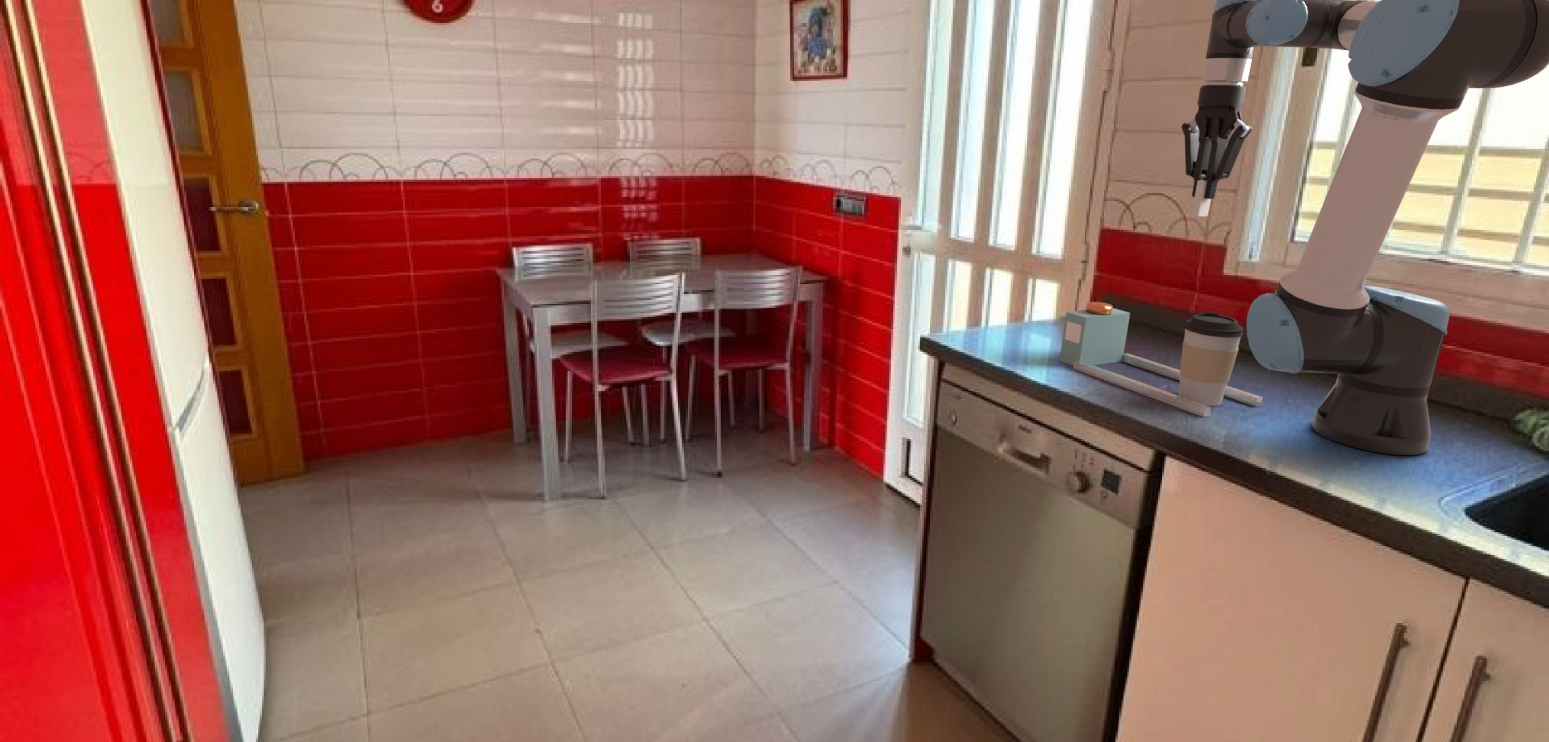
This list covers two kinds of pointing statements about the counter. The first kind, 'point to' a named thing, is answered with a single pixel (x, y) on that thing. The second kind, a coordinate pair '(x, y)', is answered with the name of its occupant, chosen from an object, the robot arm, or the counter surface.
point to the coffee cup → (1208, 357)
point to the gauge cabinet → (1094, 337)
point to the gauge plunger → (1099, 308)
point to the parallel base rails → (1158, 393)
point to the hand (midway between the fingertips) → (1199, 215)
